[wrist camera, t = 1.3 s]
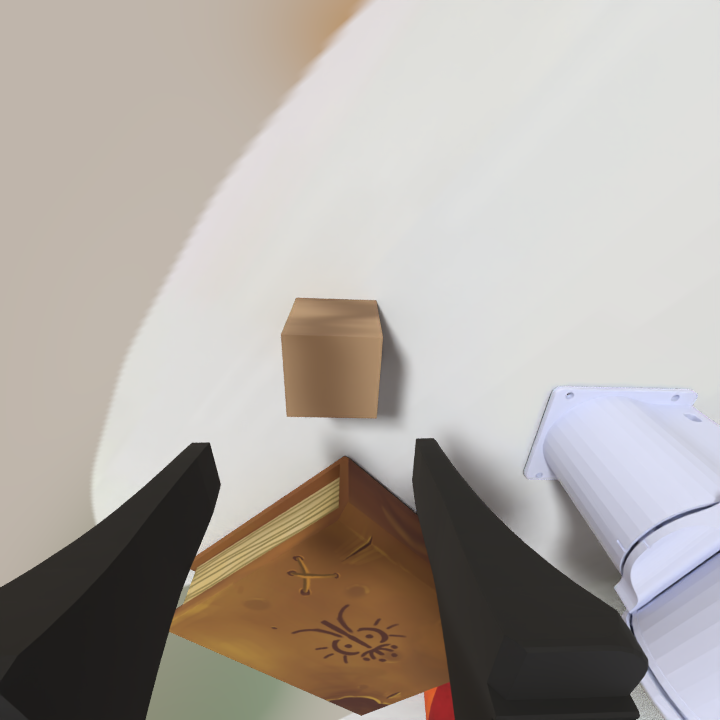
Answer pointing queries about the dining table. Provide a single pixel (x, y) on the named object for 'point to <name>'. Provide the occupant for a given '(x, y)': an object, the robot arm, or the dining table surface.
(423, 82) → the dining table surface
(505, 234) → the dining table surface
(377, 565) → the diary
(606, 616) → the robot arm
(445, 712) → the paper cup
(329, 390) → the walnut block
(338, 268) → the dining table surface
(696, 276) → the dining table surface
